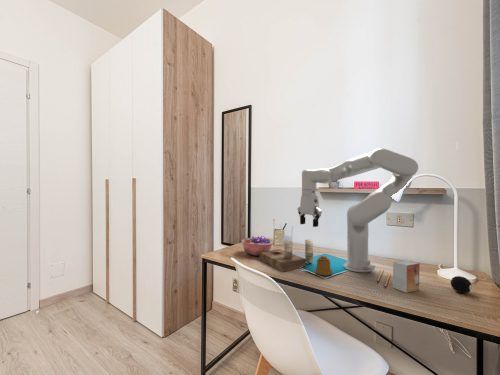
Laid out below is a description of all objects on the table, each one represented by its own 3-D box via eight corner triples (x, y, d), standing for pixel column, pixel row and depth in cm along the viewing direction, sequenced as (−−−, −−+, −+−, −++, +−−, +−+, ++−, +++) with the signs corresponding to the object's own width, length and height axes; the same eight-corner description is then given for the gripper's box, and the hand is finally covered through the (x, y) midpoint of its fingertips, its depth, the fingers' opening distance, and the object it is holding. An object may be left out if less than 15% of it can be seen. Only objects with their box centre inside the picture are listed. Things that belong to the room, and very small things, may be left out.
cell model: (251, 249, 156) (251, 231, 156) (278, 254, 145) (278, 235, 145) (234, 255, 143) (235, 235, 142) (263, 261, 131) (263, 240, 131)
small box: (406, 293, 91) (406, 265, 91) (392, 287, 97) (392, 261, 97) (419, 289, 95) (420, 263, 95) (405, 284, 100) (405, 259, 100)
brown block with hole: (305, 266, 121) (305, 243, 121) (283, 271, 115) (283, 246, 115) (279, 255, 141) (279, 235, 141) (259, 259, 134) (259, 237, 134)
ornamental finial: (335, 275, 110) (320, 277, 108) (326, 270, 117) (312, 271, 115) (335, 258, 110) (320, 259, 108) (326, 253, 117) (312, 254, 115)
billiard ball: (455, 288, 96) (455, 273, 96) (474, 293, 91) (474, 278, 91) (447, 291, 94) (447, 275, 94) (467, 297, 88) (467, 280, 88)
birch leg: (314, 263, 127) (314, 240, 127) (308, 264, 125) (308, 241, 125) (309, 261, 131) (309, 239, 131) (303, 262, 129) (303, 239, 129)
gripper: (326, 193, 122) (326, 227, 122) (303, 192, 137) (303, 222, 137) (315, 193, 118) (315, 228, 118) (293, 192, 134) (292, 223, 134)
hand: (308, 225), depth 128 cm, fingers open, 9 cm apart
